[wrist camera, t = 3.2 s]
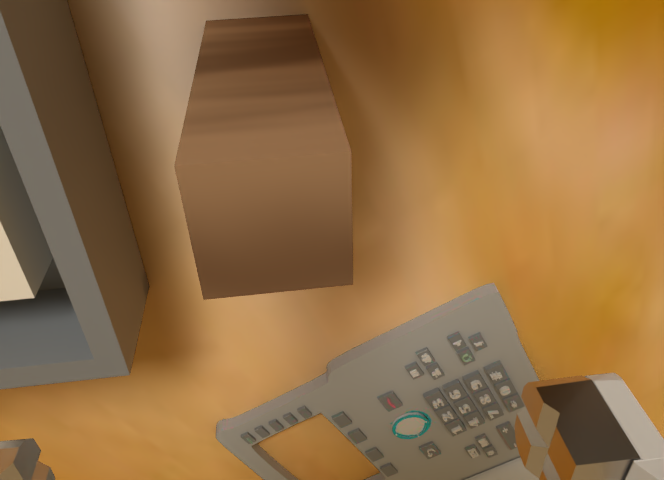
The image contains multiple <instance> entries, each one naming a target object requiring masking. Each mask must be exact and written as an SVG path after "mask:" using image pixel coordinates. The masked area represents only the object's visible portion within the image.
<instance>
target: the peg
mask: <svg viewBox="0 0 664 480" xmlns="http://www.w3.org/2000/svg"><path fill="white" fill-rule="evenodd" d="M175 171H176V175H177V180H178V185H179V189H180V194H181V198H182V203H183V208H184V212H185V217H186V221H187V226H188V230H189V235H190V240H191V244H192V249H193V253H194V258H195V263H196V267H197V272H198V276H199V281H200V285H201V290H202V295H203V299H204V300H205V299H215V298H225V297H235V296H244V295H254V294H264V293H274V292H284V291H294V290H304V289H313V288H323V287H333V286H343V285H353V242H352V163H351V149H350V145H349V142H348V139H347V136H346V133H345V130H344V127H343V124H342V120H341V117H340V114H339V111H338V108H337V105H336V102H335V99H334V95H333V92H332V89H331V86H330V83H329V80H328V77H327V74H326V70H325V67H324V64H323V61H322V58H321V55H320V52H319V48H318V45H317V42H316V39H315V36H314V33H313V30H312V27H311V23H310V20H309V17H308V14H306V15H290V16H275V17H259V18H243V19H228V20H212V21H206V24H205V29H204V34H203V38H202V43H201V47H200V52H199V56H198V61H197V65H196V70H195V75H194V79H193V84H192V88H191V93H190V97H189V102H188V106H187V111H186V116H185V120H184V125H183V129H182V134H181V138H180V143H179V147H178V152H177V157H176V161H175Z"/></svg>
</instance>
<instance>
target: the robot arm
mask: <svg viewBox="0 0 664 480" xmlns="http://www.w3.org/2000/svg"><path fill="white" fill-rule="evenodd" d="M521 398H522V400H523V402H524V404H525V407H524V408H523V409H521V410H520V411H519V412H518V413H517V416H516V421H515V438H516V444H517V448H518V451H519V455H520V457H521V459H522V462H523V464H524V467H525V468H526V469H527V470H528V471H530V472H531V473H532V474H533V475H535V476H536V477H537V478H539V480H664V439H663V437H662V436H661V434H660V433H659V432H658V430H657V429H656V427H655V426H654V424H653V423H652V421H651V420H650V419H649V417H648V416H647V414H646V413H645V411H644V410H643V408H642V407H641V406H640V404H639V403H638V401H637V400H636V398H635V397H634V395H633V394H632V393H631V391H630V390H629V388H628V387H627V385H626V384H625V382H624V381H623V380H622V378H621V377H620V376H618V375H617V374H616V373H605V374H597V375H589V376H574V377H566V378H558V379H550V380H542V381H534V382H528V383H527V384H526V385H525V386H524V388H523V391H522V395H521ZM40 452H41V450H40V448H39V447H38V445H37V444H36V442H35V440H34V439H21V440H10V441H0V480H55V476H54V474H53V472H52V470H51V468H50V467H49V466H47V465H45V464H43V463H41V462H39V461H38V458H39V455H40Z"/></svg>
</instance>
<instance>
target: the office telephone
mask: <svg viewBox="0 0 664 480" xmlns="http://www.w3.org/2000/svg"><path fill="white" fill-rule="evenodd" d="M534 381H539V379H538V377H537V375H536V373H535V371H534V369H533V367H532V365H531V363H530V361H529V359H528V357H527V355H526V353H525V351H524V349H523V347H522V345H521V343H520V340H519V338H518V335H517V330H516V328H515V325H514V323H513V321H512V318H511V316H510V314H509V312H508V310H507V308H506V306H505V304H504V302H503V300H502V298H501V296H500V294H499V292H498V290H497V288H496V286H495V284H494V283H491V284H486V285H483V286H481V287H479V288H476V289H474V290H472V291H470V292H468V293H466V294H463V295H461V296H459V297H457V298H455V299H453V300H451V301H449V302H447V303H445V304H443V305H441V306H439V307H437V308H435V309H433V310H431V311H429V312H427V313H425V314H423V315H420V316H418V317H416V318H414V319H412V320H410V321H408V322H406V323H404V324H402V325H400V326H398V327H396V328H394V329H392V330H390V331H388V332H386V333H384V334H382V335H380V336H377V337H375V338H373V339H371V340H369V341H367V342H365V343H363V344H361V345H359V346H357V347H355V348H353V349H351V350H349V351H347V352H345V353H343V354H342V355H340V356H338V357H336V358H335V359H333V360H332V361H330V362H329V363H328V364H327V372H326V373H324V374H323V375H321V376H319V377H317V378H315V379H314V380H312V381H310V382H307V383H305V384H303V385H301V386H299V387H297V388H295V389H293V390H291V391H289V392H287V393H285V394H283V395H281V396H279V397H277V398H275V399H273V400H271V401H269V402H266V403H264V404H262V405H260V406H258V407H256V408H254V409H252V410H250V411H247V412H245V413H243V414H241V415H239V416H236V417H234V418H230V419H223V420H220V421H219V422H218V423H217V426H216V438H217V440H218V441H219V442H220V443H221V444H222V445H223V446H224V447H225V448H227V449H228V450H229V451H230V452H231V453H233V454H234V455H235V456H236V457H237V458H239V459H240V460H241V461H242V462H243V463H245V464H246V465H247V466H248V467H249V468H250V469H252V470H253V471H254V472H255V473H256V474H258V475H259V476H260V477H261V478H262V479H264V480H298V479H297V478H296V477H294V476H293V475H292V474H291V473H290V472H289V471H287V470H286V469H285V468H284V467H283V466H281V465H280V464H279V463H278V462H277V461H276V460H274V459H273V458H272V457H271V456H270V455H269V454H268V453H267V452H266V451H265V450H263V449H262V448H261V447H260V446H259V445H258V444H257V443H258V442H260V441H262V440H264V439H266V438H268V437H270V436H272V435H274V434H276V433H279V432H281V431H283V430H285V429H287V428H289V427H291V426H293V425H295V424H297V423H299V422H302V421H304V420H306V419H308V418H311V417H313V416H315V415H317V414H320V413H322V414H323V415H324V416H325V417H326V418H327V419H328V420H329V421H330V422H331V423H332V424H333V425H334V426H335V427H336V428H337V429H338V430H339V431H340V432H341V433H342V434H343V435H344V436H345V437H347V438H348V439H349V440H350V441H351V442H352V443H353V444H354V445H355V446H356V447H357V448H358V449H359V450H360V451H361V452H362V453H363V454H364V456H365V457H366V458H367V459H368V460H369V461H370V462H371V463H372V464H373V465H374V466H375V467H376V468H377V469H378V470H379V471H380V472H381V473H378V474H376V475H374V476H371V477H369V478H367V479H364V480H539V478H537V477H536V476H535V475H533V474H532V473H531V472H530V471H528V470H527V469H526V468H525V467H524V464H523V462H522V459H521V457H520V455H519V451H518V448H517V444H516V438H515V421H516V416H517V413H518V412H519V411H520V410H521V409H523V408H524V407H525V404H524V402H523V400H522V398H521V395H522V391H523V388H524V386H525V385H526V384H527V383H528V382H534Z"/></svg>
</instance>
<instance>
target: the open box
mask: <svg viewBox="0 0 664 480" xmlns="http://www.w3.org/2000/svg"><path fill="white" fill-rule="evenodd" d="M148 290H149V283H148V280H147V277H146V273H145V270H144V266H143V263H142V259H141V256H140V252H139V249H138V245H137V242H136V238H135V235H134V231H133V228H132V224H131V221H130V217H129V214H128V210H127V207H126V203H125V200H124V197H123V193H122V190H121V186H120V183H119V179H118V176H117V172H116V169H115V165H114V162H113V158H112V155H111V151H110V148H109V144H108V141H107V137H106V134H105V130H104V127H103V123H102V120H101V117H100V113H99V110H98V106H97V103H96V99H95V96H94V92H93V89H92V85H91V82H90V78H89V75H88V71H87V68H86V64H85V61H84V57H83V54H82V50H81V47H80V43H79V40H78V36H77V33H76V30H75V26H74V23H73V19H72V16H71V12H70V9H69V5H68V2H67V0H0V389H8V388H17V387H26V386H36V385H45V384H54V383H63V382H72V381H81V380H90V379H99V378H108V377H117V376H126V375H130V373H131V368H132V363H133V359H134V354H135V349H136V345H137V340H138V336H139V331H140V326H141V322H142V317H143V313H144V308H145V303H146V299H147V294H148Z"/></svg>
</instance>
